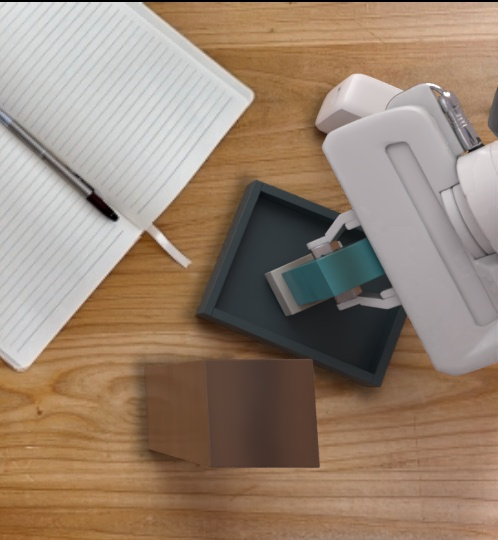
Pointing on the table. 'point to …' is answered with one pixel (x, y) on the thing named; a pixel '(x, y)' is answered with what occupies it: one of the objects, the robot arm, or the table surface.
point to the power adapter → (354, 101)
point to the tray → (267, 306)
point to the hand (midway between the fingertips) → (324, 276)
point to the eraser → (323, 276)
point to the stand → (234, 412)
